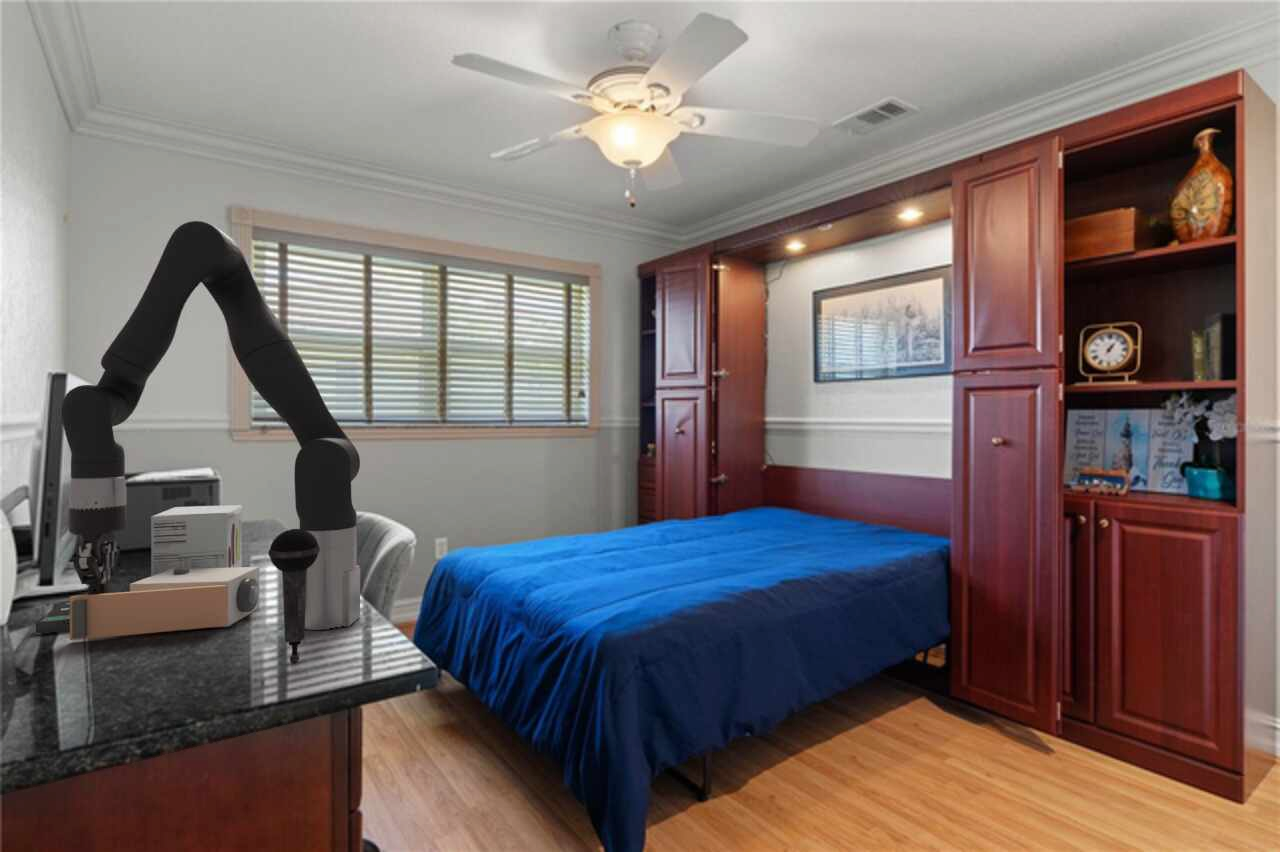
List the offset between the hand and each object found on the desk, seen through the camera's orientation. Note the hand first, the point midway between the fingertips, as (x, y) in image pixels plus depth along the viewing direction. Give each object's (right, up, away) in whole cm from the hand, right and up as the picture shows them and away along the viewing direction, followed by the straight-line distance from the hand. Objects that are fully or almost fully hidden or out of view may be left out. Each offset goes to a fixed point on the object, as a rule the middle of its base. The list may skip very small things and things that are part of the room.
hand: (98, 605), depth 110 cm
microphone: (+40, -5, -13) cm, 42 cm away
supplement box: (-1, -5, +27) cm, 27 cm away
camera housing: (+10, -5, +10) cm, 15 cm away
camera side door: (+9, -5, 0) cm, 10 cm away
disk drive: (-10, -6, +10) cm, 15 cm away
